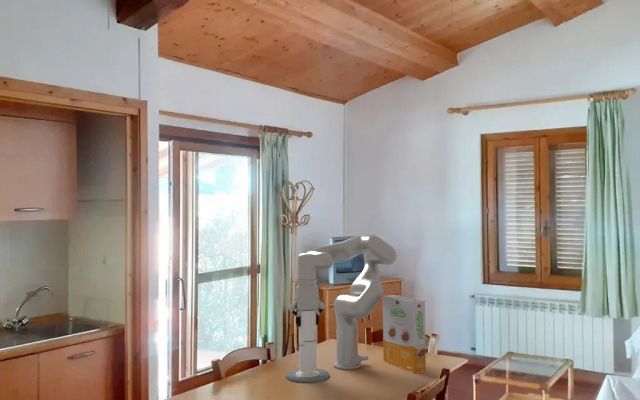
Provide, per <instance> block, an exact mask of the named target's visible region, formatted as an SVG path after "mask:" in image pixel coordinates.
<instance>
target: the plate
mask: <svg viewBox="0 0 640 400" xmlns="http://www.w3.org/2000/svg"><path fill="white" fill-rule="evenodd" d="M329 377H330V373H329V371H327V370H325V369H323V368H322V369H321V368H317V367H316V371H314V372H301V371H299V368H295V369H291V370H289V371H287V372H286V373H285V378H286V379H287V380H288V381H291V382H294V383H303V384H304V383H305V384H309V383H319V382H324V381H326V380H328V379H329Z"/></svg>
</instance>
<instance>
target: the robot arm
mask: <svg viewBox="0 0 640 400" xmlns="http://www.w3.org/2000/svg"><path fill="white" fill-rule="evenodd" d="M362 254H363V260H364V261H363V262H364V267H363V270H362V271H361V272H360V273H359V275H358V276H357V277H356V278H355V280H354V281H353V282H352V283H351V285H350V288H349V293H350V294H344V293H343V294H340V295H338V296H337V297H336V299H334V303H333V308H334V314H335V321H336V322H335V323H336V361H334V362H333V363H332V364H333V365H332V366H333V367H334V368H336V369H340V370H356V369H360V368H361V367H362V362H363V361H368V360H369V357H368V355H359V330H358V329H359V324H358V322H357V320H358V319H361V320H363V319H365V318H367V317H368V316H369V315H370V314H371V313H372V311H373V310H374V309H375V308H376V307H377V305H378V304H379V302H380V301H381V299H383V296H384V286H383V284H382V283H381V282H380V281H379V280H380V278H381V272H380V267H379V265H384V266H385V265H386V266H387V265H388V266H389V265H392V264H394V263H395V261H396V260H397V252H396V250H395V248H394V247H393V246H391V245H390V244H389V243H388V242H386V241H385V240H384V239H382V238H381V237H379V236H377V235H374V234H358V235H354V236H353V237H351V238H348V239H345V240H343V241H339V242H335V243H331V244H327V245H324V246H319V247H316V248H314V249H311V250H308V251H307V252H306V253H305V252H304V253H300V254H298V255H297V285H296V286H295V291H294V298H293V299H294V300H293V302H292V304H290V305H289V306H288V310H289V311H290V312H291V314H292V315H294V316H295V325H296V326H297V327H298V328H299V327H300V326H301V317H300V314H301V311H305V310H316V326H318V325H319V322H320V317H319V316H320V315H321V313H322V312H323V311H324V309H325V308H326V304H325V303H324V302H323V301H322V300H321V299H320V292H319V287H318V285H317V283H319V282H320V280H319V279H318V278H317V271H318V270H319V271H321V270H322V271H326V270H329V269H331V268H332V267H333V265H334V264H335V263H334V262H343V261H348V260H351V259H354V258H355V257H357V256H359V255H362Z"/></svg>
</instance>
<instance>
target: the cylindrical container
mask: <svg viewBox="0 0 640 400" xmlns="http://www.w3.org/2000/svg"><path fill="white" fill-rule="evenodd" d="M300 317H301V326H300V327H299V326H298V352H299V353H298V356H299V357H298V361H299V362H298V365H299V366H298V369H299V371H301V372H314V371H316V368H317V325H316V310H305V311H301V314H300Z"/></svg>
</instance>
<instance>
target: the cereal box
mask: <svg viewBox="0 0 640 400" xmlns="http://www.w3.org/2000/svg"><path fill="white" fill-rule="evenodd" d="M382 325H383V326H382V328H383V329H382V333H383V335H382V336H383V337H382V339H383V342H382V344H383V346H382V347H383V351H382V352H383V358H382V359H383V360H382V361H383V362H384V361H385V363H387V362H388V363H387V364H389V363H390V364H389V365H392V364H393V365H392V366H394V365H395V367H397V366H398V367H397V368H399V367H401V368H400V369H402V368H403V369H402V370H404V369H405V370H404V371H407V370H408V371H407V372H409V371H411V372H410V373H412V372H413V373H412V374H417V373H416V372H419V373H423V372H422V371H425V372H426V371H427V370H426V369H427V368H426V366H427V365H426V359H427V358H426V301H425V300H421V299H416V298H412V297H411V298H410V297H406V296H401V295H397V294H388V295H387V294H386V295H382Z"/></svg>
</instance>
